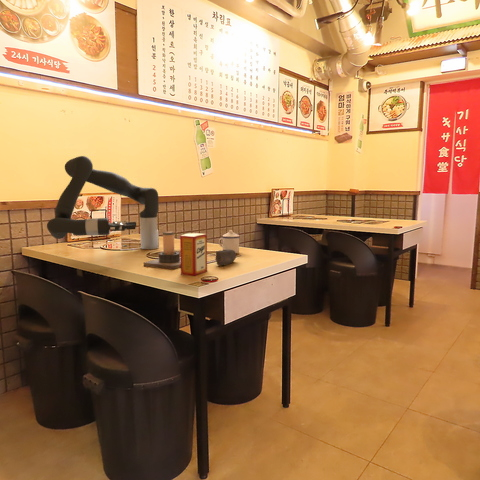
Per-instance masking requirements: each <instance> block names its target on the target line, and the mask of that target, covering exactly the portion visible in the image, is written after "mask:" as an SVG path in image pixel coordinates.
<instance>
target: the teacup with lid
mask: <svg viewBox="0 0 480 480" xmlns="http://www.w3.org/2000/svg"><path fill="white" fill-rule="evenodd" d="M221 241H222V242H221ZM218 245H219V247H221V248H222V250H226V249H230V250H234V251H235V252H236V253H237V254H239V253H240V235H239V234H238V233H236V232H233V230H232V229H230V230H228V232H227V233H225V234H223V235H222V236H221V237H220V238H219V240H218Z"/></svg>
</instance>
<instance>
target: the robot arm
mask: <svg viewBox="0 0 480 480" xmlns="http://www.w3.org/2000/svg"><path fill="white" fill-rule="evenodd" d="M64 171H65V173H66V174H67V175H68V176H69V177H70V178H71V179H70V181H69V182H68V184H67V186H66V187H65V189H64V190H63V191H62V193H61V195H60V196H59V198H58V201H57V203H56V206H55V210H54V216H55V217H54V218H51V219H50V220H48V222H47V223H46V228H47V230H48V232H49V233H50V235H51V237H53V238H54V239H57V240H61V239H64V238H65V237H66V236H67V235H68V234H71V235H74V236H76V237H79V236H80V237H83V236H93V237H94V236H96V237H97V236H109V235H110V232H124V231H128V230H136V227H137V221H126V220H124V221H122V220H120V221H117V220H114V221H112V222H110V219H109V217H100V218H97V217H96V218H86V219H84V218H83V219H72V214H73V213H74V209H75V207H76V205H77V204H76V203H77V202H78V200H79V197H80V194H81V192H82V190H83V188H84V186H85V184H86V183H90V184H92V185H95V186H97V187H99V188H102V189H105V190H107V191H109V192H112V193H113V194H117V195H120V196H123V197H126V198H129V199H131V200H133V201H135V202H137V203H138V204H141V205H144V208H143V210H141V211H140V212H139V227H140V249H142V250H155V249H159V247H160V238H159V236H160V235H159V233H160V232H159V230H158V213H159V202H160V201H159V193H158V191H157V189H156V188H153V187H141V186H138V185H135V184H133V183H131V182H130V181H129V180H128V179H127V178H126V177H124V176H122V175H120V174H118V173H115V172H112V171H107V170H99V169H95V168H93V162H92V160H91V159H90V158H89V157H87V156H85V155H80V156H76V157H74V158H70V159H69V160H68V161H66V163H65V165H64Z"/></svg>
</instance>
